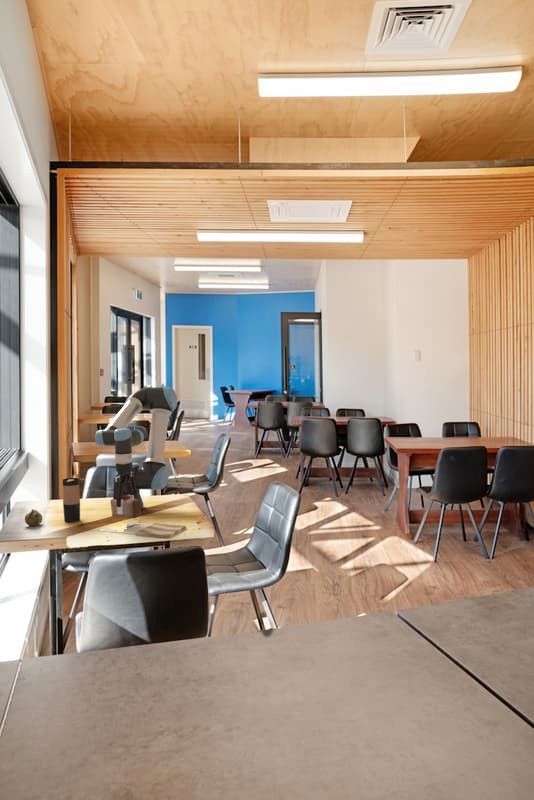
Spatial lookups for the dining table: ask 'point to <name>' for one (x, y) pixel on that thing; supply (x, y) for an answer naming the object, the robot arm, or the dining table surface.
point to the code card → (129, 528)
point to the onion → (33, 518)
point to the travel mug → (71, 500)
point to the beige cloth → (161, 530)
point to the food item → (127, 507)
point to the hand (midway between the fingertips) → (125, 511)
